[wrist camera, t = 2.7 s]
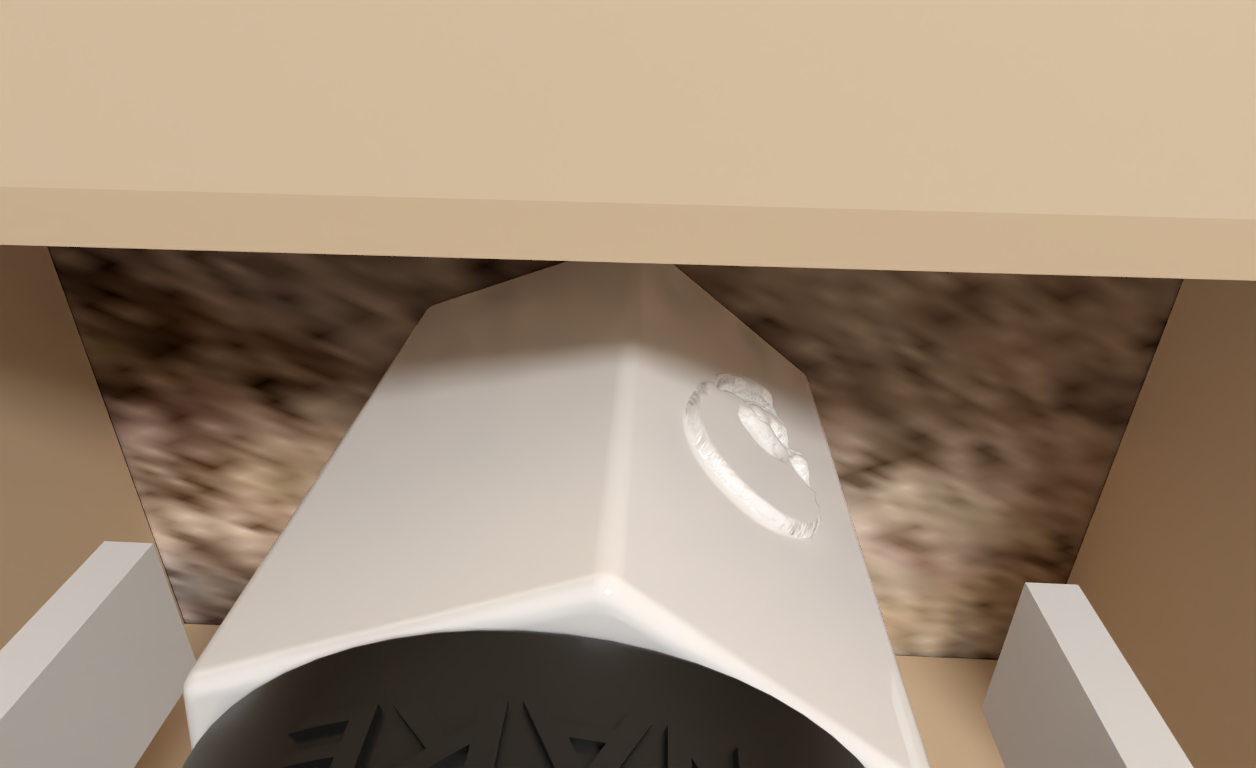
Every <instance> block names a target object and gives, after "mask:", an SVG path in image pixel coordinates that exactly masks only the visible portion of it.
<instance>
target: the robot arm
mask: <svg viewBox="0 0 1256 768" xmlns="http://www.w3.org/2000/svg"><path fill="white" fill-rule="evenodd" d="M195 663H196V659H195V657H194V654H193V651H192V648H191V646H190V643H189V640H188V638H187V635H186V632H185V629H184V627H183V624H182V621H181V618H180V616H179V613H178V610H177V607H176V605H175V602H174V599H173V596H172V594H171V591H170V588H169V585H168V583H167V580H166V577H165V574H164V572H163V569H162V566H161V563H160V561H159V558H158V555H157V553H156V550H155V547H154V544H153V543H134V542H112V541H104V542H103V543H102V544H101V545H100V546H99V547H98V548H97V550H96V551H95V552H94V553H93V554H92V555H91V556H90V557H89V558H88V559H87V560H86V561H85V562H84V563H83V564H82V565H81V566H80V567H79V568H78V570H77V571H76V572H75V573H74V574H73V575H72V576H71V577H70V578H69V579H68V580H67V581H66V582H65V583H64V584H63V585H62V586H61V587H60V588H59V590H58V591H57V592H56V593H55V594H54V595H53V596H52V597H51V598H50V599H49V600H48V601H47V602H46V603H45V604H44V605H43V606H42V607H41V608H40V610H39V611H38V612H37V613H36V614H35V615H34V616H33V617H32V618H31V619H30V620H29V621H28V622H27V623H26V624H25V625H24V626H23V627H22V628H21V629H20V631H19V632H18V633H17V634H16V635H15V636H14V637H13V638H12V639H11V640H10V641H9V642H8V643H7V644H6V645H5V646H4V647H3V648H2V649H1V651H0V768H134V767H135V765H136V764H137V762H138V761H139V759H140V758H141V756H142V755H143V753H144V752H145V750H146V748H147V747H148V745H149V744H150V742H151V741H152V739H153V738H154V736H155V735H156V733H157V732H158V730H159V729H160V727H161V726H162V724H163V722H164V721H165V719H166V718H167V716H168V715H169V713H170V712H171V710H172V709H173V707H174V706H175V704H176V703H177V701H178V700H179V698H180V696H181V695H182V693H183V686H184V683H185V680H186V678H187V675H188V674H189V672H190V671H191V669H192V668H193V666H194V665H195ZM982 711H983V713H984V716H985V718H986V721H987V723H988V726H989V728H990V731H991V733H992V736H993V738H994V741H995V743H996V746H997V748H998V751H999V753H1000V756H1001V758H1002V761H1003V763H1004V765H1005V768H1194V767H1193V766H1192V764H1191V763H1190V761H1189V760H1188V758H1187V756H1186V755H1185V753H1184V752H1183V750H1182V748H1181V747H1180V745H1179V744H1178V742H1177V740H1176V739H1175V737H1174V736H1173V734H1172V733H1171V731H1170V729H1169V728H1168V726H1167V725H1166V723H1165V721H1164V720H1163V718H1162V717H1161V715H1160V714H1159V712H1158V710H1157V709H1156V707H1155V706H1154V704H1153V702H1152V701H1151V699H1150V698H1149V696H1148V694H1147V693H1146V691H1145V690H1144V688H1143V687H1142V685H1141V683H1140V682H1139V680H1138V679H1137V677H1136V675H1135V674H1134V672H1133V671H1132V669H1131V668H1130V666H1129V664H1128V663H1127V661H1126V660H1125V658H1124V656H1123V655H1122V653H1121V652H1120V650H1119V648H1118V647H1117V645H1116V644H1115V642H1114V641H1113V639H1112V637H1111V636H1110V634H1109V633H1108V631H1107V629H1106V628H1105V626H1104V625H1103V623H1102V622H1101V620H1100V618H1099V617H1098V615H1097V614H1096V612H1095V610H1094V609H1093V607H1092V606H1091V604H1090V602H1089V601H1088V599H1087V598H1086V596H1085V595H1084V593H1083V591H1082V590H1081V588H1080V587H1079V585H1073V584H1051V583H1029V582H1025V584H1024V587H1023V590H1022V593H1021V596H1020V599H1019V601H1018V604H1017V607H1016V610H1015V613H1014V616H1013V619H1012V622H1011V624H1010V627H1009V630H1008V633H1007V636H1006V639H1005V642H1004V645H1003V648H1002V650H1001V653H1000V656H999V659H998V662H997V665H996V668H995V671H994V673H993V676H992V679H991V682H990V685H989V688H988V691H987V694H986V696H985V699H984V702H983V705H982Z"/></svg>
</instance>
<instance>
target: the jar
mask: <svg viewBox="0 0 1256 768" xmlns="http://www.w3.org/2000/svg"><path fill="white" fill-rule="evenodd" d="M183 696H184V703H185V709H186V715H187V722H188V728H189V735H190V741H191V748H192V751H191V753H190V755H189V756H188V758H187V760H186V761H185V763H184V765H183V766H182V768H931V767H930V764H929V761H928V758H927V755H926V752H925V748H924V745H923V742H922V739H921V736H920V733H919V729H918V726H917V723H916V720H915V717H914V714H913V710H912V707H911V704H910V701H909V698H908V695H907V692H906V688H905V685H904V682H903V679H902V676H901V673H900V669H899V666H898V663H897V660H896V657H895V654H894V651H893V647H892V644H891V641H890V638H889V635H888V632H887V628H886V625H885V622H884V619H883V616H882V613H881V609H880V606H879V603H878V600H877V597H876V594H875V591H874V587H873V584H872V581H871V578H870V575H869V572H868V568H867V565H866V562H865V559H864V556H863V553H862V549H861V546H860V543H859V540H858V537H857V534H856V531H855V527H854V524H853V521H852V518H851V515H850V512H849V508H848V505H847V502H846V499H845V496H844V493H843V489H842V486H841V483H840V480H839V477H838V474H837V471H836V467H835V464H834V461H833V458H832V455H831V452H830V448H829V445H828V442H827V439H826V436H825V433H824V430H823V426H822V423H821V420H820V417H819V414H818V411H817V407H816V404H815V401H814V398H813V395H812V392H811V388H810V385H809V382H808V379H807V377H806V376H805V374H804V373H803V372H802V371H801V370H799V369H798V368H797V367H796V366H795V365H793V364H792V363H791V362H790V361H789V360H787V359H786V358H785V357H784V356H783V355H781V354H780V353H779V352H778V351H777V350H775V349H774V348H773V347H772V346H771V345H769V344H768V343H767V342H766V341H765V340H763V339H762V338H761V337H760V336H759V335H757V334H756V333H755V332H754V331H753V330H751V329H750V328H749V327H748V326H747V325H746V324H744V323H743V322H742V321H741V320H740V319H738V318H737V317H736V316H735V315H734V314H732V313H731V312H730V311H729V310H728V309H726V308H725V307H724V306H723V305H722V304H720V303H719V302H718V301H717V300H716V299H714V298H713V297H712V296H711V295H710V294H708V293H707V292H706V291H705V290H704V289H703V288H701V287H700V286H699V285H698V284H697V283H695V282H694V281H693V280H692V279H691V278H689V277H688V276H687V275H686V274H685V273H683V272H682V271H681V270H680V269H679V268H677V267H676V266H675V265H674V264H656V263H622V262H587V261H566V262H563V263H560V264H557V265H553V266H550V267H547V268H544V269H541V270H538V271H535V272H532V273H529V274H526V275H523V276H520V277H517V278H514V279H511V280H508V281H505V282H502V283H499V284H496V285H493V286H490V287H487V288H484V289H481V290H478V291H474V292H471V293H468V294H465V295H462V296H459V297H456V298H453V299H450V300H447V301H444V302H441V303H438V304H435V305H433V306H431V307H429V308H428V309H427V310H426V312H425V313H424V315H423V316H422V318H421V319H420V321H419V322H418V324H417V325H416V327H415V329H414V330H413V332H412V333H411V335H410V336H409V338H408V339H407V341H406V342H405V344H404V345H403V347H402V348H401V350H400V351H399V353H398V355H397V356H396V358H395V359H394V361H393V362H392V364H391V365H390V367H389V368H388V370H387V371H386V373H385V374H384V376H383V377H382V379H381V380H380V382H379V384H378V385H377V387H376V388H375V390H374V391H373V393H372V394H371V396H370V397H369V399H368V400H367V402H366V403H365V405H364V406H363V408H362V410H361V411H360V413H359V414H358V416H357V417H356V419H355V420H354V422H353V423H352V425H351V426H350V428H349V429H348V431H347V432H346V434H345V435H344V437H343V439H342V440H341V442H340V443H339V445H338V446H337V448H336V449H335V451H334V452H333V454H332V455H331V457H330V458H329V460H328V461H327V463H326V465H325V466H324V468H323V469H322V471H321V472H320V474H319V475H318V477H317V478H316V480H315V481H314V483H313V484H312V486H311V487H310V489H309V490H308V492H307V494H306V495H305V497H304V498H303V500H302V501H301V503H300V504H299V506H298V507H297V509H296V510H295V512H294V513H293V515H292V516H291V518H290V520H289V521H288V523H287V524H286V526H285V527H284V529H283V530H282V532H281V533H280V535H279V536H278V538H277V539H276V541H275V542H274V544H273V545H272V547H271V549H270V550H269V552H268V553H267V555H266V556H265V558H264V559H263V561H262V562H261V564H260V565H259V567H258V568H257V570H256V571H255V573H254V574H253V576H252V578H251V579H250V581H249V582H248V584H247V585H246V587H245V588H244V590H243V591H242V593H241V594H240V596H239V597H238V599H237V600H236V602H235V604H234V605H233V607H232V608H231V610H230V611H229V613H228V614H227V616H226V617H225V619H224V620H223V622H222V623H221V625H220V626H219V628H218V629H217V631H216V633H215V634H214V636H213V637H212V639H211V640H210V642H209V643H208V645H207V646H206V648H205V649H204V651H203V652H202V654H201V655H200V657H199V658H198V660H197V662H196V663H195V665H194V666H193V668H192V669H191V671H190V672H189V674H188V675H187V678H186V680H185V683H184V686H183Z"/></svg>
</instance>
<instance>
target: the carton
mask: <svg viewBox="0 0 1256 768" xmlns="http://www.w3.org/2000/svg"><path fill="white" fill-rule="evenodd" d="M47 246H63V247H98V248H133V249H168V250H203V251H238V252H273V253H308V254H343V255H377V256H412V257H447V258H482V259H517V260H552V261H587V262H622V263H656V264H691V265H726V266H761V267H796V268H831V269H866V270H901V271H935V272H970V273H1005V274H1040V275H1075V276H1110V277H1145V278H1180V279H1184V280H1183V282H1182V285H1181V287H1180V290H1179V293H1178V295H1177V298H1176V300H1175V303H1174V306H1173V308H1172V311H1171V313H1170V316H1169V319H1168V321H1167V324H1166V327H1165V329H1164V332H1163V334H1162V337H1161V340H1160V342H1159V345H1158V347H1157V350H1156V353H1155V355H1154V358H1153V360H1152V363H1151V366H1150V368H1149V371H1148V373H1147V376H1146V379H1145V381H1144V384H1143V386H1142V389H1141V392H1140V394H1139V397H1138V399H1137V402H1136V405H1135V407H1134V410H1133V412H1132V415H1131V418H1130V420H1129V423H1128V425H1127V428H1126V431H1125V433H1124V436H1123V438H1122V441H1121V444H1120V446H1119V449H1118V451H1117V454H1116V457H1115V459H1114V462H1113V464H1112V467H1111V470H1110V472H1109V475H1108V477H1107V480H1106V483H1105V485H1104V488H1103V490H1102V493H1101V496H1100V498H1099V501H1098V503H1097V506H1096V509H1095V511H1094V514H1093V516H1092V519H1091V522H1090V524H1089V527H1088V529H1087V532H1086V535H1085V537H1084V540H1083V542H1082V545H1081V548H1080V550H1079V553H1078V556H1077V558H1076V561H1075V563H1074V566H1073V569H1072V571H1071V574H1070V576H1069V579H1068V582H1067V584H1073V585H1079V587H1080V588H1081V590H1082V591H1083V593H1084V595H1085V596H1086V598H1087V599H1088V601H1089V602H1090V604H1091V606H1092V607H1093V609H1094V610H1095V612H1096V614H1097V615H1098V617H1099V618H1100V620H1101V622H1102V623H1103V625H1104V626H1105V628H1106V629H1107V631H1108V633H1109V634H1110V636H1111V637H1112V639H1113V641H1114V642H1115V644H1116V645H1117V647H1118V648H1119V650H1120V652H1121V653H1122V655H1123V656H1124V658H1125V660H1126V661H1127V663H1128V664H1129V666H1130V668H1131V669H1132V671H1133V672H1134V674H1135V675H1136V677H1137V679H1138V680H1139V682H1140V683H1141V685H1142V687H1143V688H1144V690H1145V691H1146V693H1147V694H1148V696H1149V698H1150V699H1151V701H1152V702H1153V704H1154V706H1155V707H1156V709H1157V710H1158V712H1159V714H1160V715H1161V717H1162V718H1163V720H1164V721H1165V723H1166V725H1167V726H1168V728H1169V729H1170V731H1171V733H1172V734H1173V736H1174V737H1175V739H1176V740H1177V742H1178V744H1179V745H1180V747H1181V748H1182V750H1183V752H1184V753H1185V755H1186V756H1187V758H1188V760H1189V761H1190V763H1191V764H1192V766H1193V767H1194V768H1256V0H0V651H1V649H2V648H3V647H4V646H5V645H6V644H7V643H8V642H9V641H10V640H11V639H12V638H13V637H14V636H15V635H16V634H17V633H18V632H19V631H20V629H21V628H22V627H23V626H24V625H25V624H26V623H27V622H28V621H29V620H30V619H31V618H32V617H33V616H34V615H35V614H36V613H37V612H38V611H39V610H40V608H41V607H42V606H43V605H44V604H45V603H46V602H47V601H48V600H49V599H50V598H51V597H52V596H53V595H54V594H55V593H56V592H57V591H58V590H59V588H60V587H61V586H62V585H63V584H64V583H65V582H66V581H67V580H68V579H69V578H70V577H71V576H72V575H73V574H74V573H75V572H76V571H77V570H78V568H79V567H80V566H81V565H82V564H83V563H84V562H85V561H86V560H87V559H88V558H89V557H90V556H91V555H92V554H93V553H94V552H95V551H96V550H97V548H98V547H99V546H100V545H101V544H102V543H103V542H104V541H112V542H134V543H153V544H154V547H155V550H156V553H157V555H158V558H159V561H160V563H161V566H162V569H163V572H164V574H165V577H166V580H167V583H168V585H169V588H170V591H171V594H172V596H173V599H174V602H175V605H176V607H177V610H178V613H179V616H180V618H181V621H182V624H183V627H184V629H185V632H186V635H187V638H188V640H189V643H190V646H191V648H192V651H193V654H194V657H195V659H196V662H197V660H198V658H199V657H200V655H201V654H202V652H203V651H204V649H205V648H206V646H207V645H208V643H209V642H210V640H211V639H212V637H213V636H214V634H215V633H216V631H217V629H218V628H219V626H220V625H203V624H185V623H184V620H183V618H182V615H181V612H180V609H179V607H178V604H177V601H176V598H175V596H174V593H173V590H172V587H171V585H170V582H169V579H168V576H167V574H166V571H165V568H164V566H163V563H162V560H161V557H160V555H159V552H158V549H157V546H156V544H155V541H154V538H153V535H152V533H151V530H150V527H149V524H148V522H147V519H146V516H145V514H144V511H143V508H142V505H141V503H140V500H139V497H138V494H137V492H136V489H135V486H134V483H133V481H132V478H131V475H130V472H129V470H128V467H127V464H126V461H125V459H124V456H123V453H122V451H121V448H120V445H119V442H118V440H117V437H116V434H115V431H114V429H113V426H112V423H111V420H110V418H109V415H108V412H107V409H106V407H105V404H104V401H103V399H102V396H101V393H100V390H99V388H98V385H97V382H96V379H95V377H94V374H93V371H92V368H91V366H90V363H89V360H88V357H87V355H86V352H85V349H84V346H83V344H82V341H81V338H80V336H79V333H78V330H77V327H76V325H75V322H74V319H73V316H72V314H71V311H70V308H69V305H68V303H67V300H66V297H65V294H64V292H63V289H62V286H61V284H60V281H59V278H58V275H57V273H56V270H55V267H54V264H53V262H52V259H51V256H50V253H49V251H48V248H47ZM895 657H896V660H897V663H898V666H899V669H900V673H901V676H902V679H903V682H904V685H905V688H906V692H907V695H908V698H909V701H910V704H911V707H912V710H913V714H914V717H915V720H916V723H917V726H918V729H919V733H920V736H921V739H922V742H923V745H924V748H925V752H926V755H927V758H928V761H929V764H930V767H931V768H1005V765H1004V763H1003V761H1002V758H1001V756H1000V753H999V751H998V748H997V746H996V743H995V741H994V738H993V736H992V733H991V731H990V728H989V726H988V723H987V721H986V718H985V716H984V713H983V711H982V705H983V702H984V699H985V696H986V694H987V691H988V688H989V685H990V682H991V679H992V676H993V673H994V671H995V668H996V665H997V662H998V660H986V659H963V658H941V657H919V656H896V655H895ZM191 751H192V748H191V741H190V735H189V728H188V722H187V715H186V709H185V703H184V696H183V693H182V695H181V696H180V698H179V700H178V701H177V703H176V704H175V706H174V707H173V709H172V710H171V712H170V713H169V715H168V716H167V718H166V719H165V721H164V722H163V724H162V726H161V727H160V729H159V730H158V732H157V733H156V735H155V736H154V738H153V739H152V741H151V742H150V744H149V745H148V747H147V748H146V750H145V752H144V753H143V755H142V756H141V758H140V759H139V761H138V762H137V764H136V765H135V767H134V768H182V766H183V765H184V763H185V761H186V760H187V758H188V756H189V755H190V753H191Z"/></svg>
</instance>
